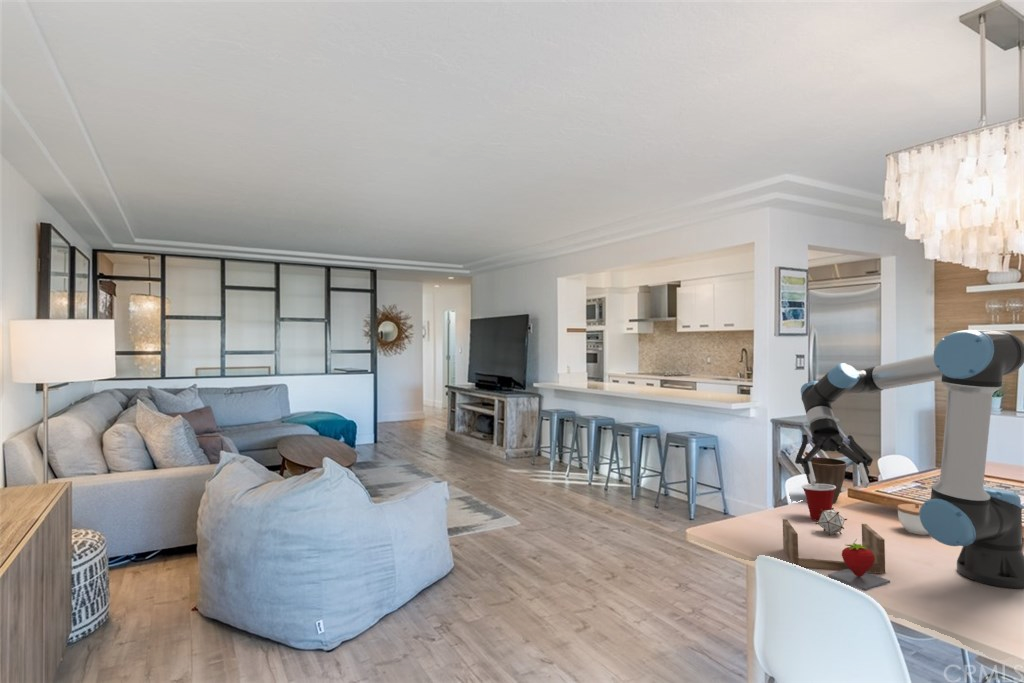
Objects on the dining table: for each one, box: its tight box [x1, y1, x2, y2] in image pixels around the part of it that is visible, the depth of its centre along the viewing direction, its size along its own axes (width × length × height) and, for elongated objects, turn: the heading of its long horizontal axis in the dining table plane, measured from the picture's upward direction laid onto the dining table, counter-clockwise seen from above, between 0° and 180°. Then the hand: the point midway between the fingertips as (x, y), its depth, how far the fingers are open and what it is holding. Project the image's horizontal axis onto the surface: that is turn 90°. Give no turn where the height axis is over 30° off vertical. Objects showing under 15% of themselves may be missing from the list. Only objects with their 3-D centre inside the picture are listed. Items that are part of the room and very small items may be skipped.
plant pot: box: [805, 456, 847, 505], centre depth 221 cm, size 15×15×16 cm
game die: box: [814, 507, 848, 536], centre depth 183 cm, size 9×8×10 cm
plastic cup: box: [801, 483, 836, 522], centre depth 198 cm, size 11×11×12 cm
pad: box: [827, 568, 891, 591], centre depth 146 cm, size 10×10×1 cm
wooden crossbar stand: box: [782, 518, 886, 574], centre depth 160 cm, size 14×22×9 cm, turn 75°
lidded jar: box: [897, 502, 929, 536], centre depth 183 cm, size 11×11×9 cm
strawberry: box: [841, 538, 875, 577], centre depth 146 cm, size 6×8×10 cm
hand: (839, 484), depth 159 cm, fingers open, 13 cm apart
